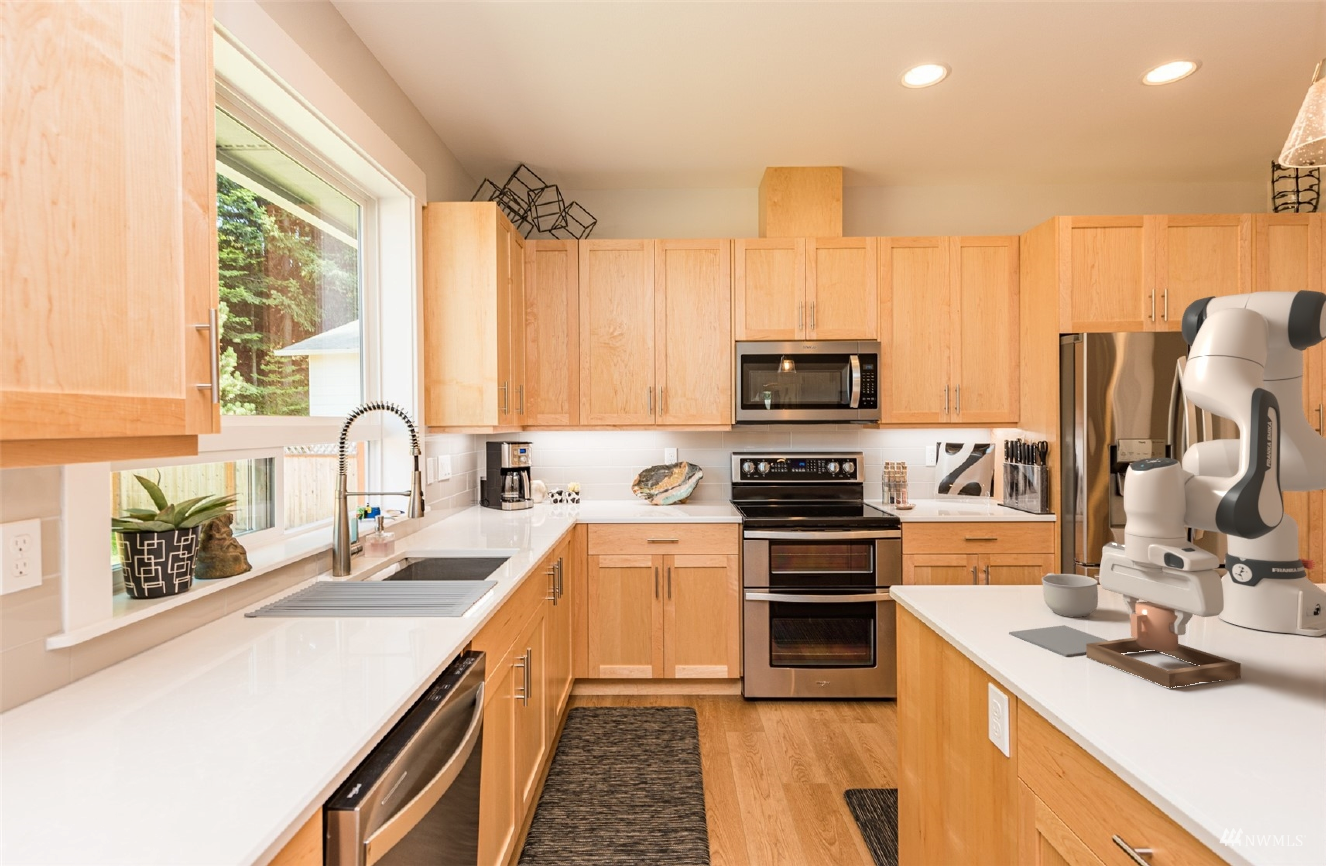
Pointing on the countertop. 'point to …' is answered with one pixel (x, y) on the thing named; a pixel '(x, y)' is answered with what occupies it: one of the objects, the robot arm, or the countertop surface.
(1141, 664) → the tray
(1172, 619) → the mug
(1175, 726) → the countertop surface
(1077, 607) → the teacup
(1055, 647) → the coaster
